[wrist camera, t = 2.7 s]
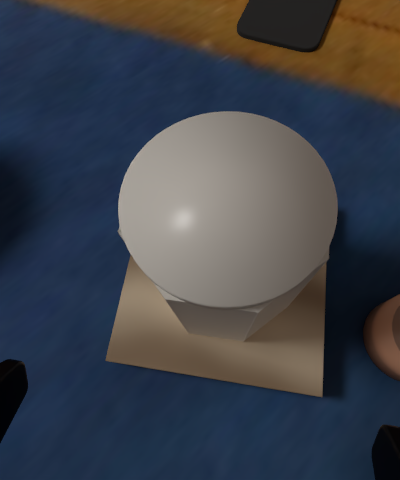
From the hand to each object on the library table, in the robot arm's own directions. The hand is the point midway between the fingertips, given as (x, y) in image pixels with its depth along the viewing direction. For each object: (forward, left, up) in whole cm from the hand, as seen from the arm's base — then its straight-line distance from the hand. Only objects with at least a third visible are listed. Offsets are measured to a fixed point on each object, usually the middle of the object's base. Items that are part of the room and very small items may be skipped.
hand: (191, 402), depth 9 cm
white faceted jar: (+6, -2, -11) cm, 13 cm away
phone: (+32, -14, -13) cm, 38 cm away
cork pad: (+6, -2, -13) cm, 14 cm away
